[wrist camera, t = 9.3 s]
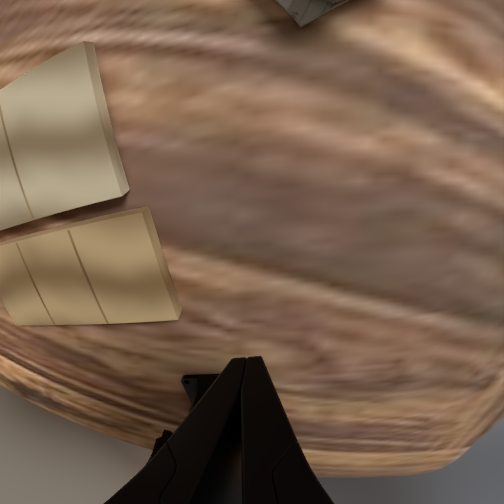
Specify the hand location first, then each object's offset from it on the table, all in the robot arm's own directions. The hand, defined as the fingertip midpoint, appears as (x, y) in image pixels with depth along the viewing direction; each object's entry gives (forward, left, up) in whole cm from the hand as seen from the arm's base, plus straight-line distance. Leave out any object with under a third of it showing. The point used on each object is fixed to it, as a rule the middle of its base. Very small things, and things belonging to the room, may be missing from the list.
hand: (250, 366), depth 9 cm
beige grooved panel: (+8, +16, -12) cm, 21 cm away
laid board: (-2, +16, -12) cm, 20 cm away
